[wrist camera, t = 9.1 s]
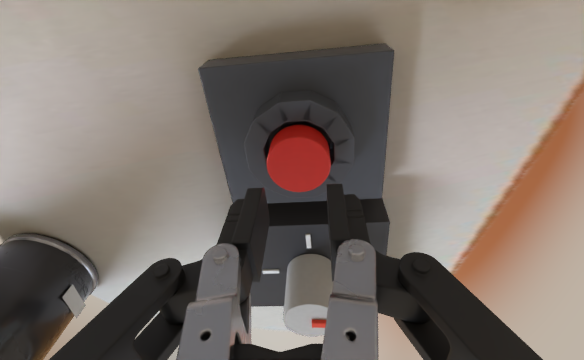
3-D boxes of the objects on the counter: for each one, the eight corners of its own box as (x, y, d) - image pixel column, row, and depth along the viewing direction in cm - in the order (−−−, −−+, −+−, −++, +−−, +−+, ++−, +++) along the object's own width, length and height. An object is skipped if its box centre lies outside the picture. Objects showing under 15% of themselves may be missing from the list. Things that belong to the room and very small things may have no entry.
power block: (238, 188, 24) (227, 221, 21) (208, 59, 19) (186, 76, 16) (376, 181, 23) (387, 215, 20) (386, 42, 18) (403, 57, 15)
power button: (273, 178, 19) (270, 194, 18) (265, 125, 17) (261, 139, 16) (330, 175, 19) (331, 191, 17) (328, 121, 17) (330, 134, 16)
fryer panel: (255, 280, 31) (250, 308, 28) (236, 203, 25) (227, 229, 23) (375, 277, 30) (381, 306, 27) (381, 196, 24) (390, 223, 22)
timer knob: (288, 285, 26) (284, 340, 22) (285, 253, 24) (280, 308, 20) (334, 285, 26) (339, 341, 22) (336, 253, 24) (341, 308, 20)
